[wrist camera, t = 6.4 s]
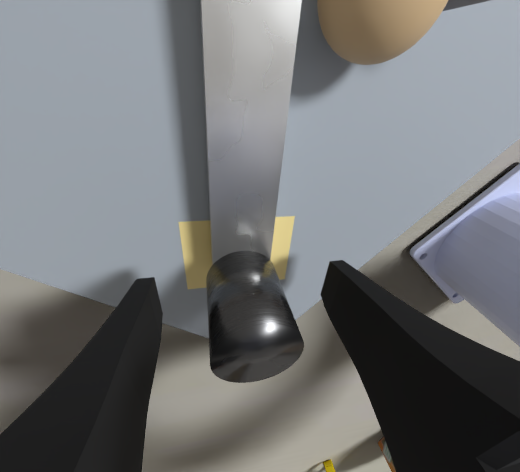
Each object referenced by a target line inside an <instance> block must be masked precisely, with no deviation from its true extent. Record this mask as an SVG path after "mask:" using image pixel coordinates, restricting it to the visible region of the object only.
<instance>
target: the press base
mask: <svg viewBox="0 0 520 472" xmlns="http://www.w3.org/2000/svg"><path fill="white" fill-rule="evenodd" d="M519 138H520V0H302V3H301V11H300V20H299V28H298V36H297V44H296V53H295V61H294V69H293V77H292V86H291V94H290V102H289V110H288V118H287V127H286V135H285V143H284V151H283V160H282V168H281V176H280V184H279V193H278V201H277V209H276V217H275V226H274V234H273V242H272V250H271V258H270V260H271V262H272V263H273V265H274V268H275V270H276V273H277V275H278V278H279V280H280V283H281V285H282V288H283V291H284V293H285V296H286V298H287V301H288V303H289V306H290V308H291V311H292V313H293V316H294V319H295V320H296V319H297V318H299V317H300V316H301V315H302V314H303V313H305V312H306V311H307V310H308V309H310V308H311V307H312V306H313V305H315V304H316V303H317V302H318V301H320V300H321V299H322V297H321V290H322V287H323V283H324V280H325V276H326V273H327V269H328V266H329V262H330V261H338V260H343V261H345V262H346V263H348V264H349V265H351V266H352V267H354V268H355V269H356V270H358V269H359V268H360V267H361V266H363V265H364V264H365V263H366V262H368V261H369V260H370V259H371V258H373V257H374V256H375V255H376V254H378V253H379V252H380V251H381V250H382V249H384V248H385V247H386V246H387V245H389V244H390V243H391V242H392V241H394V240H395V239H396V238H397V237H399V236H400V235H401V234H402V233H403V232H405V231H406V230H407V229H408V228H410V227H411V226H412V225H413V224H415V223H416V222H417V221H418V220H419V219H421V218H422V217H423V216H424V215H426V214H427V213H428V212H429V211H431V210H432V209H433V208H434V207H436V206H437V205H438V204H439V203H440V202H442V201H443V200H444V199H445V198H447V197H448V196H449V195H450V194H452V193H453V192H454V191H455V190H457V189H458V188H459V187H460V186H461V185H463V184H464V183H465V182H466V181H468V180H469V179H470V178H471V177H473V176H474V175H475V174H476V173H477V172H479V171H480V170H481V169H482V168H484V167H485V166H486V165H487V164H489V163H490V162H491V161H492V160H494V159H495V158H496V157H497V156H498V155H500V154H501V153H502V152H503V151H505V150H506V149H507V148H508V147H510V146H511V145H512V144H513V143H515V142H516V141H517V140H518V139H519ZM211 266H212V254H211V233H210V211H209V189H208V167H207V145H206V123H205V101H204V79H203V57H202V35H201V13H200V0H0V269H2V270H5V271H8V272H11V273H14V274H17V275H20V276H23V277H26V278H29V279H32V280H35V281H38V282H41V283H44V284H47V285H50V286H53V287H56V288H59V289H62V290H65V291H68V292H71V293H74V294H77V295H80V296H83V297H86V298H89V299H92V300H95V301H98V302H101V303H104V304H107V305H110V306H113V307H117V306H118V304H119V303H120V301H121V300H122V299H123V297H124V296H125V294H126V293H127V291H128V290H129V289H130V287H131V286H132V284H133V283H134V281H135V280H136V279H139V278H150V277H154V278H155V282H156V286H157V291H158V295H159V299H160V303H161V308H162V312H163V317H162V323H164V324H167V325H170V326H173V327H176V328H179V329H182V330H185V331H188V332H191V333H194V334H197V335H200V336H203V337H206V338H209V329H208V308H207V287H206V277H207V274H208V271H209V269H210V268H211Z"/></svg>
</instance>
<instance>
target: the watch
mask: <svg viewBox="0 0 520 472" xmlns="http://www.w3.org/2000/svg"><path fill="white" fill-rule="evenodd" d="M323 463H324V466H325V469H326V472H335V469H334V466H333V464H332V461H331V460H328V461H325V462H323Z"/></svg>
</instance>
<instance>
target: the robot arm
mask: <svg viewBox="0 0 520 472" xmlns="http://www.w3.org/2000/svg"><path fill="white" fill-rule="evenodd" d="M410 255H411V256H412V257H413V259H414V260H415V261H416V262H417V263H418V264H419V265H420V266H421V268H422V269H423V270H424V271H425V272H426V273H427V274H428V275H429V277H430V278H431V279H432V280H433V281H434V282H435V283H436V285H437V286H438V287H439V288H440V289H441V290H442V291H443V292H444V294H445V295H446V296H447V297H448V298H449V299H450V300H451V301H452V302H453V303H459V302H461V301H462V300H464V299H465V300H466V301H467V302H468V303H470V304H471V305H472V306H473V307H474V308H475V309H477V310H478V311H479V312H480V313H481V314H482V315H484V316H485V317H486V318H487V319H488V320H489V321H490V322H492V323H493V324H494V325H495V326H496V327H497V328H499V329H500V330H501V331H502V332H503V333H504V334H506V335H507V336H508V337H509V338H510V339H511V340H513V341H514V342H515V343H516V344H517V345H518V346H519V347H520V164H518V165H517V166H516V167H514V168H513V169H512V170H511V171H509V172H508V173H507V174H505V175H504V176H503V177H502V178H500V179H499V180H498V181H497V182H495V183H494V184H493V185H491V186H490V187H489V188H488V189H486V190H485V191H484V192H482V193H481V194H480V195H479V196H477V197H476V198H475V199H473V200H472V201H471V202H470V203H468V204H467V205H466V206H464V207H463V208H462V209H461V210H459V211H458V212H457V213H456V214H454V215H453V216H452V217H450V218H449V219H448V220H447V221H445V222H444V223H443V224H441V225H440V226H439V227H438V228H436V229H435V230H434V231H432V232H431V233H430V234H429V235H427V236H426V237H425V238H423V239H422V240H421V241H420V242H418V243H417V244H416V245H414V246H413V247H412V248H411V250H410ZM321 297H322V300H323V303H324V306H325V308H326V311H327V313H328V316H329V318H330V320H331V322H332V323H333V325H334V327H335V329H336V331H337V333H338V335H339V337H340V339H341V340H342V342H343V344H344V346H345V348H346V350H347V352H348V353H349V355H350V357H351V359H352V361H353V363H354V365H355V367H356V369H357V371H358V373H359V375H360V378H361V380H362V382H363V385H364V387H365V389H366V392H367V394H368V397H369V399H370V402H371V404H372V407H373V409H374V412H375V414H376V417H377V419H378V422H379V425H380V427H381V430H382V433H383V436H384V438H385V441H386V444H387V447H388V449H389V452H390V455H391V458H392V461H393V464H394V467H395V470H396V472H520V361H517V360H515V359H513V358H510V357H508V356H506V355H503V354H501V353H499V352H496V351H494V350H492V349H490V348H488V347H485V346H483V345H481V344H479V343H477V342H475V341H473V340H471V339H469V338H467V337H465V336H463V335H460V334H458V333H457V332H455V331H453V330H451V329H449V328H447V327H445V326H443V325H441V324H440V323H438V322H436V321H434V320H432V319H431V318H429V317H427V316H425V315H424V314H422V313H420V312H419V311H417V310H415V309H414V308H412V307H411V306H409V305H407V304H406V303H404V302H403V301H401V300H400V299H398V298H397V297H395V296H394V295H392V294H391V293H389V292H388V291H386V290H385V289H383V288H382V287H380V286H379V285H378V284H376V283H375V282H373V281H372V280H370V279H369V278H368V277H366V276H365V275H363V274H362V273H361V272H359V271H358V270H356V269H355V268H354V267H352V266H351V265H349V264H348V263H346V262H345V261H343V260H338V261H330V262H329V266H328V269H327V273H326V276H325V280H324V283H323V287H322V290H321ZM162 317H163V312H162V308H161V303H160V299H159V295H158V291H157V286H156V282H155V278H154V277H150V278H139V279H136V280H135V281H134V283H133V284H132V286H131V287H130V289H129V290H128V291H127V293H126V294H125V296H124V297H123V299H122V300H121V301H120V303H119V304H118V306H117V307H116V308H115V310H114V311H113V312H112V314H111V315H110V316H109V318H108V319H107V320H106V322H105V323H104V324H103V326H102V327H101V328H100V329H99V331H98V332H97V333H96V334H95V336H94V337H93V338H92V339H91V340H90V342H89V343H88V344H87V345H86V346H85V348H84V349H83V350H82V351H81V352H80V354H79V355H78V356H77V357H76V358H75V359H74V360H73V362H72V363H71V364H70V365H69V366H68V367H67V368H66V369H65V370H64V371H63V373H62V374H61V375H60V376H59V377H58V378H57V379H56V380H55V381H54V382H53V383H52V384H51V385H50V386H49V387H48V388H47V389H46V391H45V392H44V393H43V394H42V395H41V396H40V397H39V398H37V399H36V400H35V401H34V402H33V403H32V404H31V405H30V406H29V407H28V408H27V409H26V410H25V411H24V412H23V413H22V414H21V415H20V416H19V417H18V418H17V419H16V420H15V421H14V422H13V423H12V424H11V425H10V426H9V427H8V428H7V429H6V430H5V431H3V432H2V433H1V434H0V472H142V460H143V449H144V439H145V429H146V419H147V412H148V405H149V399H150V394H151V389H152V383H153V378H154V373H155V368H156V363H157V357H158V352H159V347H160V341H161V332H162Z"/></svg>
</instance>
